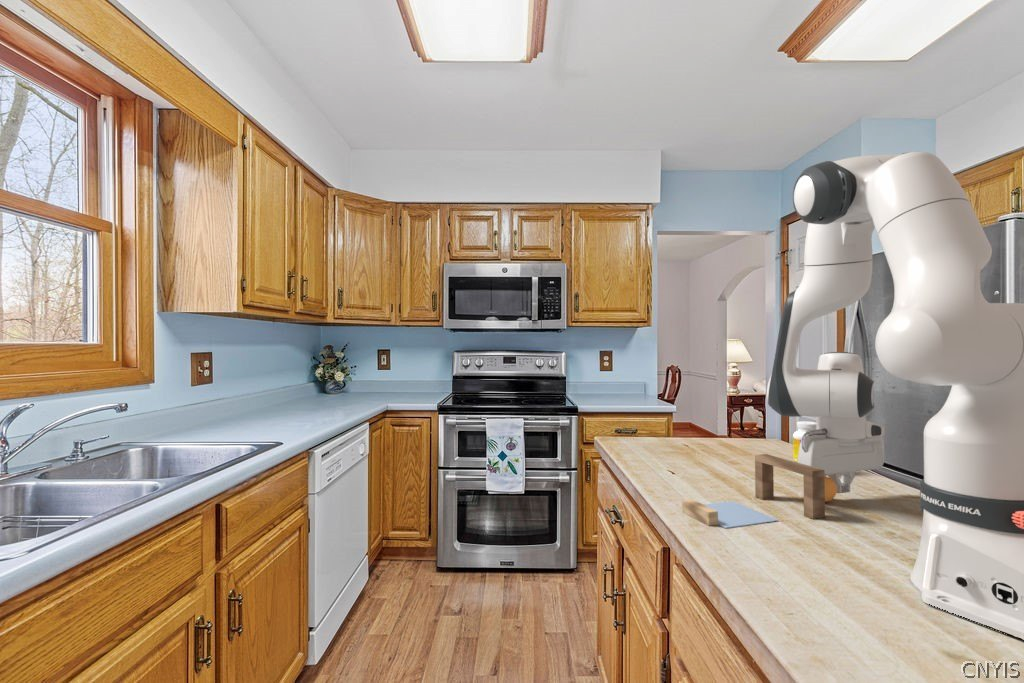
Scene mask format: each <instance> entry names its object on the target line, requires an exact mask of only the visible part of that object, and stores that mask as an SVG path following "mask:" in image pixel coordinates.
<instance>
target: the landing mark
mask: <svg viewBox="0 0 1024 683" xmlns="http://www.w3.org/2000/svg"><path fill="white" fill-rule="evenodd" d="M703 505H705V506H708V507H710V508H712V509H714V510H716V511H718V525H717V526H719V527H721V528H724V529H731V528H738V527H747V526H752V525H760V524H766V523H767V522H769V523H774V521H776V522H779V519H777V518H774V517H772V516H769V515H767V514H765V513H763V512H759V511H758V510H755V509H752V508H751V507H748V506H746V505H743V504H741V503H739V502H736V501H733V500H731V501H721V502H713V503H705V504H703Z"/></svg>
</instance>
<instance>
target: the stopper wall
mask: <svg viewBox="0 0 1024 683" xmlns="http://www.w3.org/2000/svg"><path fill="white" fill-rule="evenodd" d="M681 501H682V502H681V503H682V504H681V505H682V506H681V507H682V508H681V513H683V514H685V515H688V516H689V517H691V518H693V519H695V520H697V521H699V522H700V523H703V524H704V525H706V526H708V527H710V526H719V525H718V511H716V510H714V509H712V508H710V507H708V506H705V505H704V504H703V503H701V502H699V501H697V500H695V499H693V498H684V499H682V500H681Z"/></svg>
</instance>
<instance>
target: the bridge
mask: <svg viewBox="0 0 1024 683" xmlns="http://www.w3.org/2000/svg"><path fill="white" fill-rule="evenodd" d="M774 467H776V468H779V469H783V470H786V471H790V472H793V473H796V474H800V475H803V516H804V517H806V518H808V517H809V518H808V519H811V518H812V519H811V520H816V518H818V519H824V518H823V517H825V518H826V502H825V476H826V475H825V472H824V470H823V469H820V468H816V467H812V466H809V465H805V464H801V463H797V462H794V461H793V460H791V459H786V458H783V457H780V456H775V455H771V454H768V453H762V454H754V475H755V476H754V478H755V479H754V484H755V485H754V486H755V488H754V489H755V493H754V494H755V496H754V497H755V498H757V497H758V498H757V499H759V498H760V499H759V500H762V499H764V500H771V499H770V498H773V499H774V498H775V496H774V493H775V491H774V490H775V489H774V485H775V484H774V481H775V480H774Z"/></svg>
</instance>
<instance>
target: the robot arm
mask: <svg viewBox="0 0 1024 683" xmlns="http://www.w3.org/2000/svg"><path fill="white" fill-rule="evenodd" d="M792 203H793V209H794V211H795V213H796V215H797V216H798V217H799V219H800V220H802V221H803V222H805V223H807V227H806V228H807V229H806V235H805V241H804V251H803V252H804V254H803V276H802V278H801V281H800V283H799V285H798V287H797V288H796V289H795V290H793V291H791V292H789V293H788V295H787V297H786V299H785V301H784V305H783V308H782V309H783V310H782V314H781V319H780V325H779V329H778V336H777V342H776V348H775V353H774V359H773V365H772V371H771V374H770V377H769V379H768V381H767V385H766V400H767V403H768V406H769V407H770V408H771V409H772V410H774V412H775V413H777V414H779V415H780V416H782V417H784V418H787V417H789V418H791V417H792V418H795V417H796V418H798V417H800V418H801V417H814V418H815V417H816V420H815V423H817V430H808V431H806V433H805V434H804V435H803V436H802V438H801V443H800V447H799V455H798V463H801V464H805V465H809V466H812V467H816V468H820V469H823V470H824V472H825V476H827V477H828V478H830V479H831V480H832V481H833V482H834V484H835V486H836V494H846V493H850V492H851V484H852V482H853V480H854V479H855V476H856V472H860V471H869V470H879V469H881V468H882V467H883V465H884V463H885V442H884V438H882V437H883V436H884V435H885V427H884V426H883V425H880V424H878V423H874V422H872V421H869V420H866V419H867V418H866V417H867V416H866V415H867V414H869V413H870V412H871V411H872V410H874V409H875V403H874V394H873V391H874V389H873V388H874V387H873V385H874V383H875V380H872V379H871V378H870V377H869V376H867V375H866V374H865V369H864V365H863V360H862V358H861V355H859V354H857V353H855V352H849V351H848V352H847V351H830V352H825V353H822V354H820V355H819V358H818V361H817V369H803V368H802V369H801V368H798V367H797V366H796V363H797V356H798V351H799V345H800V339H801V333H802V332H803V329H804V328H805V327H806V326H807V325H808V324H809V323H810V322H812V321H814V320H816V319H819V318H822V317H823V316H826V315H829V314H831V313H834V312H837V311H841V310H843V309H845V308H848V307H849V306H851V305H853V304H855V303H856V302H858V301H859V300H861V299H862V298H863V297H864V296H865V295H866V293H868V291H869V289H870V287H871V283H872V278H873V277H872V276H873V266H874V265H873V263H874V260H873V258H874V257H873V245H872V244H873V240H872V238H873V232H874V231H876V234H877V237H878V240H879V242H880V245H881V248H882V250H883V254H884V255H885V258H886V262H887V264H888V267H889V269H890V273H891V276H892V280H893V282H892V283H893V289H894V293H893V294H894V296H893V297H894V298H893V304H892V305H893V306H892V308H891V312H889V314H888V316H886V318H884V319H883V321H882V322H881V324H880V325H879V327H878V329H877V332H876V335H875V340H874V345H875V348H874V349H875V353H876V355H877V358H878V360H879V362H880V364H881V365H882V367H883V368H884V369H885V370H886V371H887V372H888V373H890V375H892V376H894V377H896V378H898V379H901V380H905V381H910V382H913V383H918V384H923V385H929V386H935V387H936V386H938V387H939V386H941V387H942V386H951V389H950V391H949V394H948V396H947V399H946V401H945V402H944V404H943V406H942V407H941V409H940V410H939V411H938V412H937V413H936V414H935V415H933V416H932V417H931V418H930V419H928V421H927V422H926V424H925V426H924V429H923V479H921V480H920V484H919V485H920V487H919V488H920V491H919V505H920V511H921V514H922V525H921V534H920V541H919V547H918V551H917V556H916V559H915V563H914V565H913V568H912V570H911V573H910V576H909V578H910V581H911V583H912V584H913V585H914V586H915V588H917V590H919V591H920V594H921V595H920V598H921V600H922V601H923V602H924V603H925V604H927V605H929V604H930V605H929V606H931V605H932V607H934V606H935V607H934V608H937V607H938V608H937V609H939V608H940V609H939V610H942V609H943V610H942V611H944V610H946V611H945V612H947V611H948V612H947V613H950V614H952V613H954V614H953V615H955V614H956V615H955V616H958V615H959V616H958V617H960V616H962V617H961V618H963V617H965V618H968V619H970V620H969V621H971V620H973V621H976V622H979V623H982V624H985V625H987V626H990V627H993V628H997V629H999V630H1002V631H1006V632H1008V633H1012V634H1016V635H1019V636H1021V637H1023V638H1024V303H1021V302H1003V303H1002V302H989V301H987V300H986V298H985V297H984V295H983V293H982V289H981V278H980V276H981V275H980V274H981V270H983V269H984V268H985V266H987V264H988V263H989V262H990V260H991V258H992V253H993V249H992V245H991V244H990V241H989V239H988V237H987V235H986V233H985V230H984V229H983V227H982V224H981V222H980V220H979V218H978V215H977V214H976V212H975V210H974V208H973V205H972V203H971V202H970V200H969V198H968V196H967V194H966V192H965V190H964V189H963V187H962V185H961V184H960V182H959V181H958V179H957V178H956V176H955V175H954V174H953V173H952V172H951V170H950V169H949V168H948V167H947V165H946V164H945V163H944V162H943V160H941V159H940V158H939V157H938V156H937V155H935V154H933V153H931V152H928V151H909V152H903V153H900V154H898V153H894V154H893V153H892V154H890V153H889V154H888V153H887V154H877V155H873V154H872V155H870V154H867V155H860V156H851V157H847V158H842V159H838V160H834V161H830V160H826V161H821V162H818V163H815V164H813V165H810V166H808V167H806V168H805V169H804V170H802V172H801V173H800V175H799V176H798V178H797V179H796V180H795V184H794V186H793V192H792ZM965 618H964V619H965ZM968 619H967V620H968ZM973 621H972V622H973ZM976 622H975V623H976ZM979 623H978V624H979Z"/></svg>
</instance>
